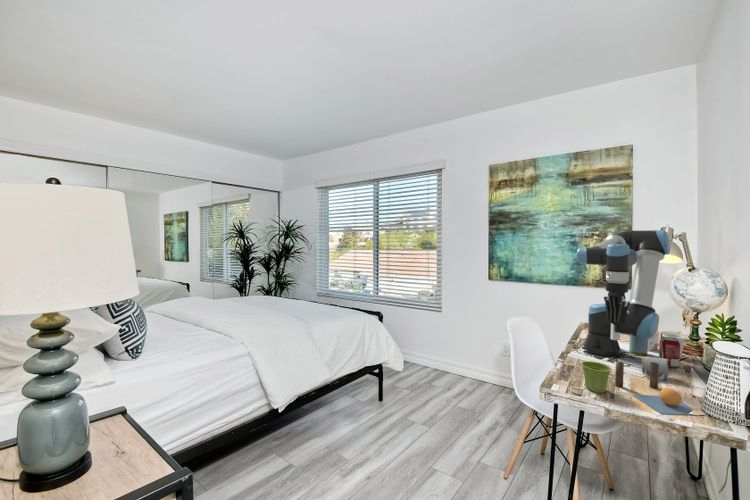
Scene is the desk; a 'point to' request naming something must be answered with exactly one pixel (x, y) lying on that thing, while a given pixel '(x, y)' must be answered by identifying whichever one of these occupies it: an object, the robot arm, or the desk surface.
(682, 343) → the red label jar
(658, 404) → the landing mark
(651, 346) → the ink cartridge box
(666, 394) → the orange round fruit
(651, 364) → the post
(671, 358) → the red labelled jar
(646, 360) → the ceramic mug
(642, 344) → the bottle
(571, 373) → the desk surface
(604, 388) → the plant pot
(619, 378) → the post
